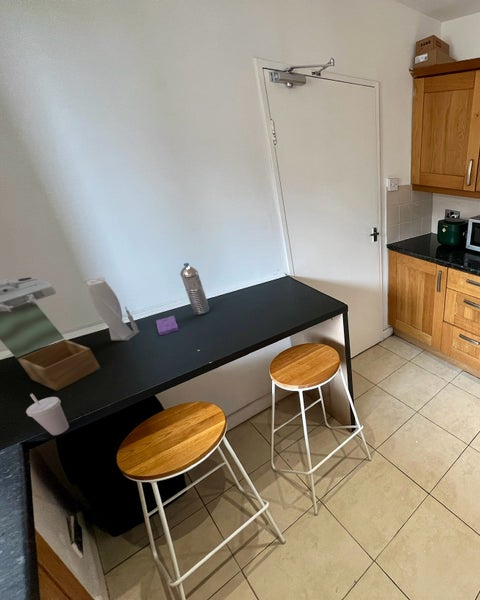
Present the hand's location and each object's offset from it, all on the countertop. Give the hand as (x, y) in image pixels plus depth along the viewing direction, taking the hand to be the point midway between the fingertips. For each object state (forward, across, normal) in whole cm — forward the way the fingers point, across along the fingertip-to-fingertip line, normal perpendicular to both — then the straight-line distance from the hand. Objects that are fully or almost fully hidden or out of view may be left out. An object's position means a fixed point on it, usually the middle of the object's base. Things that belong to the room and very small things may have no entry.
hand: (21, 306), depth 104 cm
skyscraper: (+1, +19, +26) cm, 33 cm away
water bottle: (+9, +48, +27) cm, 56 cm away
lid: (-1, -2, +8) cm, 8 cm away
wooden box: (+11, -2, +24) cm, 26 cm away
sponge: (+9, +33, +26) cm, 43 cm away
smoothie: (+41, -12, +20) cm, 48 cm away
